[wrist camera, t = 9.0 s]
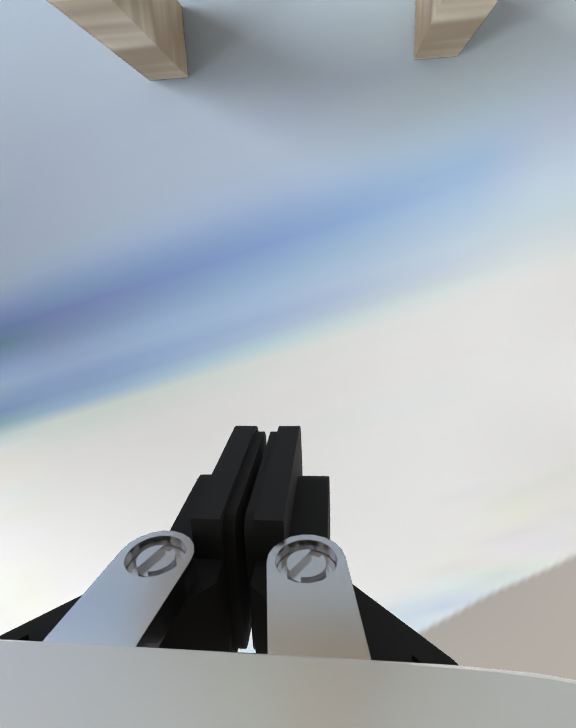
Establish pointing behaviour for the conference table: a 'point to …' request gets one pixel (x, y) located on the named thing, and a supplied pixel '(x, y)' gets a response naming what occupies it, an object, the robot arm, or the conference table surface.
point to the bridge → (167, 44)
